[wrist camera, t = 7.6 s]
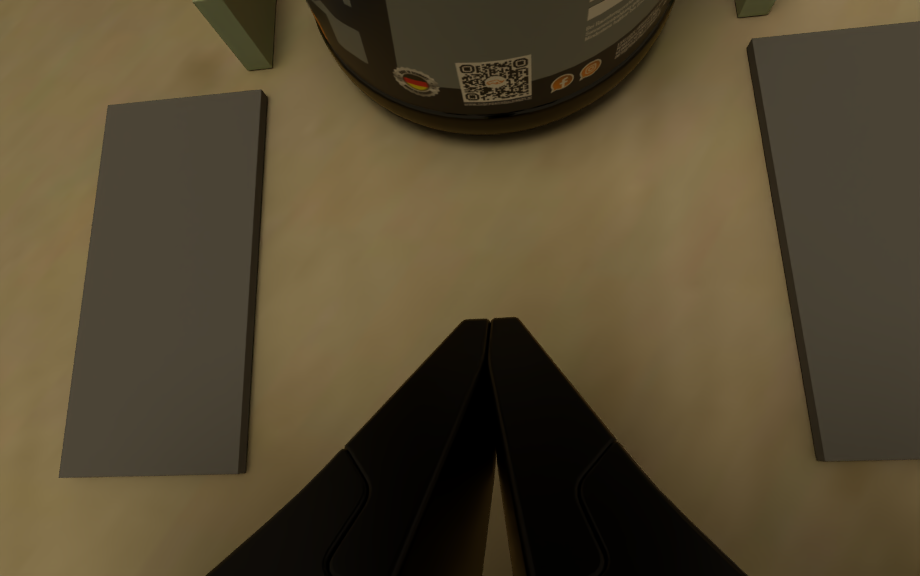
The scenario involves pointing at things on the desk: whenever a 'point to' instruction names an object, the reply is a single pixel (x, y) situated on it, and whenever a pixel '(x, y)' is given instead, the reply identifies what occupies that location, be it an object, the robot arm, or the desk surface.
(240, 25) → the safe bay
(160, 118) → the pads
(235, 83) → the desk surface
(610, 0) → the supplement container
